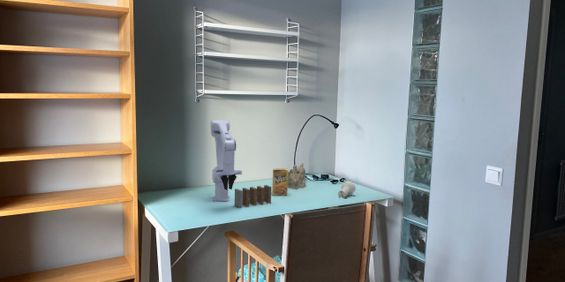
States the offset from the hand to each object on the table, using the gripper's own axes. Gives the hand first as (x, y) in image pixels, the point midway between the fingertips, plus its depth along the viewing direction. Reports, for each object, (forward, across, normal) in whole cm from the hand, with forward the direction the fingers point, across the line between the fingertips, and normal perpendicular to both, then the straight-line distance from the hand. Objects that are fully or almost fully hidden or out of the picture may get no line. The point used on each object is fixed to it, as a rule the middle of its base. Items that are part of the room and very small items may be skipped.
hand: (228, 189), depth 216 cm
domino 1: (+10, +6, 0) cm, 12 cm away
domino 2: (+10, +10, 0) cm, 14 cm away
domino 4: (+10, +20, 0) cm, 22 cm away
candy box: (+10, +39, +10) cm, 41 cm away
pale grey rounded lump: (+10, +73, -10) cm, 74 cm away
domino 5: (+10, +24, 0) cm, 26 cm away
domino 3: (+10, +15, 0) cm, 18 cm away
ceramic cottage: (+10, +59, +24) cm, 65 cm away
